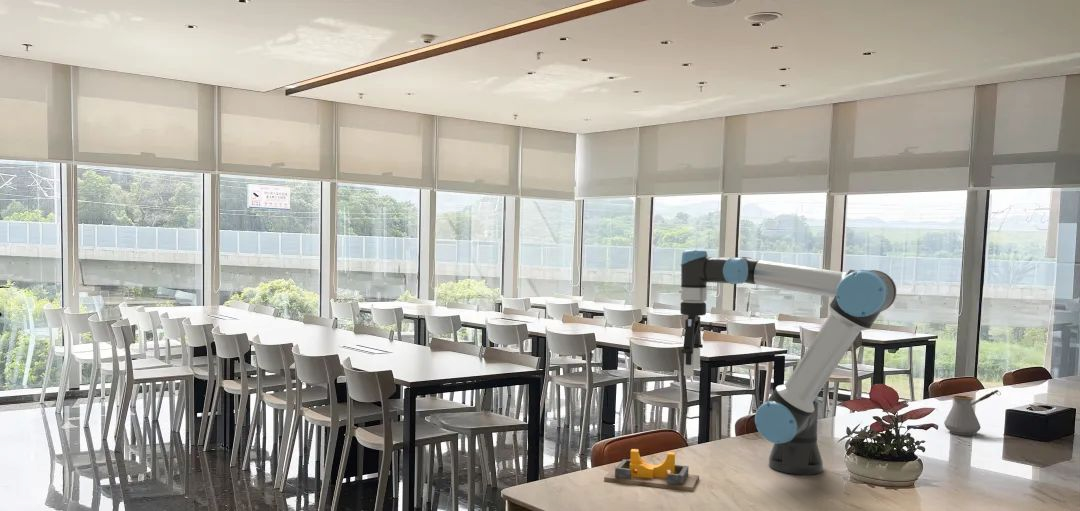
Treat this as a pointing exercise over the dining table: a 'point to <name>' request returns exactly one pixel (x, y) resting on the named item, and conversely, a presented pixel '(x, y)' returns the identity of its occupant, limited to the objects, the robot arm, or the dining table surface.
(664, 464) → the pipe clamp
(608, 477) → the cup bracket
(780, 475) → the dining table surface
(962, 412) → the coffee pot
